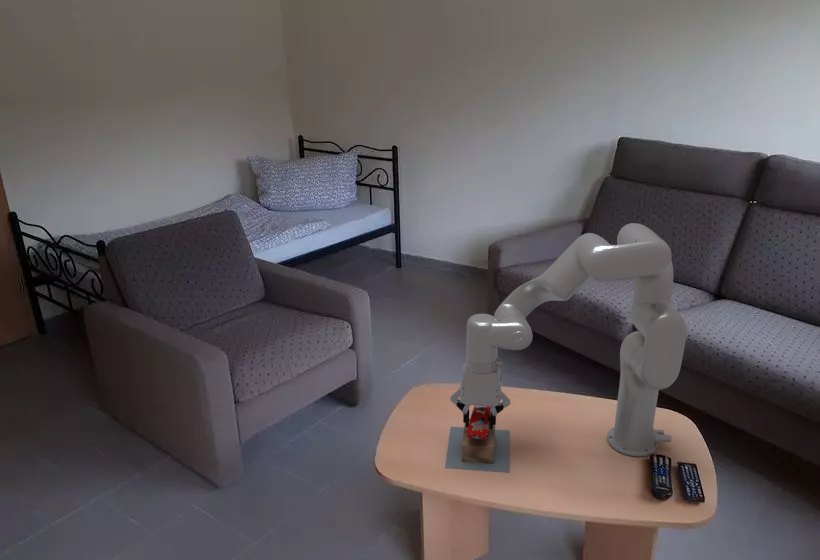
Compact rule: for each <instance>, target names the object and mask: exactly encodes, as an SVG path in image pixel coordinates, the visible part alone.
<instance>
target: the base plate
mask: <svg viewBox="0 0 820 560" xmlns="http://www.w3.org/2000/svg"><path fill="white" fill-rule="evenodd" d="M463 433H464V426H462V427H460V426H450V431H449V435H448V436H449V437H448V444H447V451H446V452H447V453H446V459H445V465H444V469H454V470H466V471H479V472H493V473H506V474H507V473H508V474H510V473H511V464H510V463H511V435H510V434H511V432H510V429H509V430H506V429H495V444H494V464H487V463H473V462H462V442H463Z"/></svg>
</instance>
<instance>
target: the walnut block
mask: <svg viewBox="0 0 820 560" xmlns="http://www.w3.org/2000/svg"><path fill="white" fill-rule="evenodd" d="M469 419H471V417H469ZM469 423H470V421H469ZM463 427H464V433H463V442H462V462H473V463H487V464H494V444H495V430H496V425H493V429H489V434H488V438H487V439H485V440H474V439H471V438H469V437H468V428H466V423H464V426H463Z"/></svg>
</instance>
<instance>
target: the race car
mask: <svg viewBox="0 0 820 560" xmlns="http://www.w3.org/2000/svg"><path fill="white" fill-rule="evenodd" d="M490 416H491V409H490V406H476V405H473V408H472V411H471V415H470V419H469V421H470V423H469V427H468V437H469V438H471V439H474V440H485V439H487V438H488V434H489V429H490Z"/></svg>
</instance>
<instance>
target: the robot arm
mask: <svg viewBox="0 0 820 560" xmlns="http://www.w3.org/2000/svg"><path fill="white" fill-rule="evenodd" d="M616 242H617V243H616V244H610V242H608V241H607V239H605V238H603V237H602V236H600V235H599V234H596V233H593V232H587V233H584V234H581V235H579V236H578V237H577V238H576V239H575V240H574V241H573V242H572V243H571V244H570V245H569V246H568V247H567V248H566V250H564V251H563V252H562V254H560V255H559V257H558V258H556V260H554V262H553V263H552V264H551V265H550V266H549V267H548V268H547V269H546V270H545V271H544V272H543V273H542V274H541V275H539V276H537V277H534V278H532V279H531V280H528V281H527V282H525V283H523V284H521V285H520V286H518V287H516V288H515V289H514V290H513V291H512V292H511V293H510V294H509V295H508V296H506V298H505V299H504V300H503V301H502V302H501V303H500V304H499V306H498V307H497V308H496V310H495V312H494V313H493V314H494V315H491V314H488V313H476V314H473V315H470V316H469V318H468V319H467V322H466V354H465V355H466V357H465V363H464V364H463V366H462V370H461V376H460V377H461V378H460V386H459V387H460V388H458V389H457V390H456V391H455V392H454V393H453V394H452V395H451V396H450V397H449V398H450V399H449V400H450V402H452V404H453V405H455V406H456V407H457V408H458V409H459V410H460V411H461V412H462V415H463V416H462V417H463V418H462V419H463V421H462V422H463V423H466V428H468V427H469V418H470V407H471V406H475V405H476V406H489V407H490V409H491V416H490V429H493V425H495V426H496V424H497V416H498V414H500V413H501V412H502V411H503V410H504V409H506V408H507V407H508V406H510V405H511V399H510V398H509V397H508V396H507V395H506V394H505V393H504V392H503V391H502V374H501V369H500V366H503V364H504V363H503V362H504V361H503V359H499V358H498V349H503V350H511V351H520V350H525V349H526V348H528V347H529V346H530V345H531V344H532V342H533V337H534V336H533V331H532V329H531V326H530V325H529V323H528V321H527V317H528V316H529V315H530V313H532V312H533V310H534V309H536V308H537V307H539V306H540V305H541V304H544V303H546V302H551V301H553V302H555V301H557V302H558V301H559V302H565V301H568V300H570V299H571V297H573V296H574V295H575V294H576V293H577V292H578V290H579V289H580V288H581V287H583V285H584V284H585V283H587V281H589V279H591V280H593V281H595V282H600V283H601V282H602V283H604V282H605V283H608V282H609V283H610V282H619V281H626V280H633V279H635V283H634V290H633V296H632V304H631V308H630V309H631V310H630V319H631V322H632V324H633V326H634V327H635V329H637V330H636V331H633V332H631V333H629V334H628V335H627V336H625V337H624V339H623V340H622V342H621V347H620V349H619V351H620V352H619V359H620V360H619V363H620V376H619V377H620V378H619V386H618V387H619V388H618V392H617V393H618V394H617V402H616V410H615V411H616V412H615V420H614V427H612V428H611V429H609V431H607V435H606V441H607V443H608V445H609V446H610V447H611V448H612V449H613V450H615V451H617V452H619V453H621V454H622V455H626V456H632V457H646V456H649V454H650V455H651V453H652V454H654V453H655V451H656V450H657V446H658V443H659V442H664V443H671V442H672V435H671V434H667V433H665V430H664V429H655V428H654V423H655V418H656V410H657V404H658V403H657V402H658V398H659V397H658V396H659V392H660V390H664V389H667V388H669V387H670V386H672V384H674V382H675V381H676V380H677V378H678V376H679V374H680V371H681V367H682V363H683V362H682V361H683V356H684V352H685V351H684V350H685V347H686V346H685V345H686V340H687V325H686V322H685V319H684V317H683V316H682V314H680V312H679V311H678V310H677V309H675V307H674V306H673V304H672V294H673V285H674V266H673V262H672V250H671V247H670V246H669V244H667V242H666V241H665V240H664V239H662V238H661V237H660V236H659V235H658V234H656V232H654V231H653V230H652V229H650V228H649V227H647V226H646V225H644V224H641V223H634V222H632V223H627V224H625V225H623V226H622V227H621V228H620V230H619V232H618V234H617V239H616Z"/></svg>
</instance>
